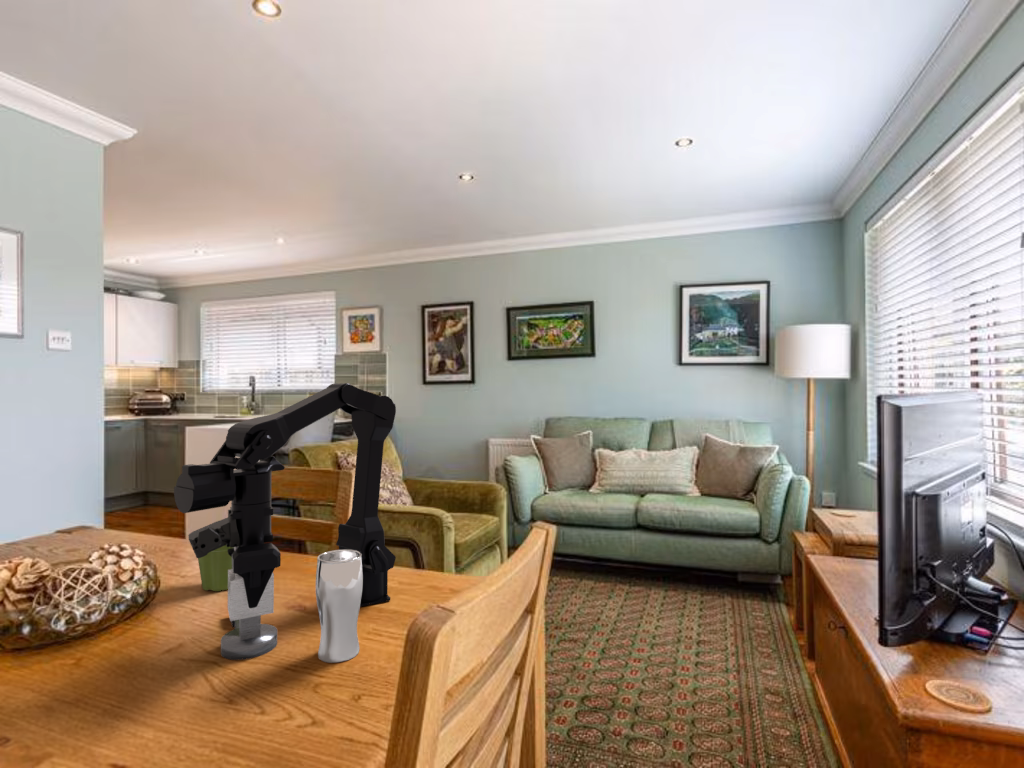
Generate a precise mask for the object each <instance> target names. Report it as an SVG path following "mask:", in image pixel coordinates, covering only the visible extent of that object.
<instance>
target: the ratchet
mask: <svg viewBox="0 0 1024 768" xmlns="http://www.w3.org/2000/svg"><path fill="white" fill-rule="evenodd" d="M261 616H262V615H260V616H255V617H250V618H244V619H239V620H234V621H230V624H231V627H232V628H234V629H231V630H229V631H227V632H226V633H225V634H223V635H222V636H221V639H220V656H221V657H223V658H224V659H226V660H229V661H230V660H232V661H241V660H242V661H243V660H244V661H245V660H249V659H254V658H257V657H261V656H263V655H265V654H268V653H269V652H271V651H273V650H274V649H275V648H276V647H277V645H278V628H277V627H276V626H274V625H273V624H269V623H261V621H262V619H261V618H262V617H261Z"/></svg>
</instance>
